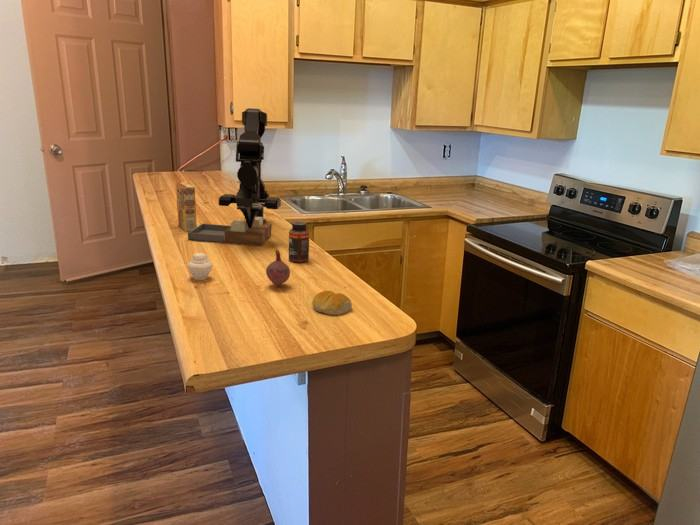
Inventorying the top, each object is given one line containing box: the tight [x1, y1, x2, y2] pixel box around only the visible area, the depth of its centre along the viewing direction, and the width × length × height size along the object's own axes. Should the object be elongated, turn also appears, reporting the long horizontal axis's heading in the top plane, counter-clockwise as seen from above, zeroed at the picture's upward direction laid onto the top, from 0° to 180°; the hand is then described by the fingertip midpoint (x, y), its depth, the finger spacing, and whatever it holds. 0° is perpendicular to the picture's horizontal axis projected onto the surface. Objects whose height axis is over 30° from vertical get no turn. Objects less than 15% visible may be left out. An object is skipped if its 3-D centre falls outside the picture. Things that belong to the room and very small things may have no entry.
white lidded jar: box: [187, 252, 213, 281], centre depth 138 cm, size 6×6×7 cm
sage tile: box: [230, 219, 249, 232], centre depth 172 cm, size 4×4×2 cm
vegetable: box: [265, 248, 291, 287], centre depth 135 cm, size 6×6×10 cm
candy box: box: [175, 182, 198, 232], centre depth 184 cm, size 9×4×15 cm, turn 33°
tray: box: [187, 223, 231, 244], centre depth 178 cm, size 13×12×2 cm
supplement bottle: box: [288, 221, 310, 264], centre depth 157 cm, size 6×6×11 cm
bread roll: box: [312, 290, 353, 316], centre depth 124 cm, size 8×9×4 cm
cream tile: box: [252, 216, 264, 227], centre depth 179 cm, size 4×4×2 cm
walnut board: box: [224, 223, 272, 247], centre depth 176 cm, size 13×12×4 cm
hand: (250, 228), depth 172 cm, fingers closed
